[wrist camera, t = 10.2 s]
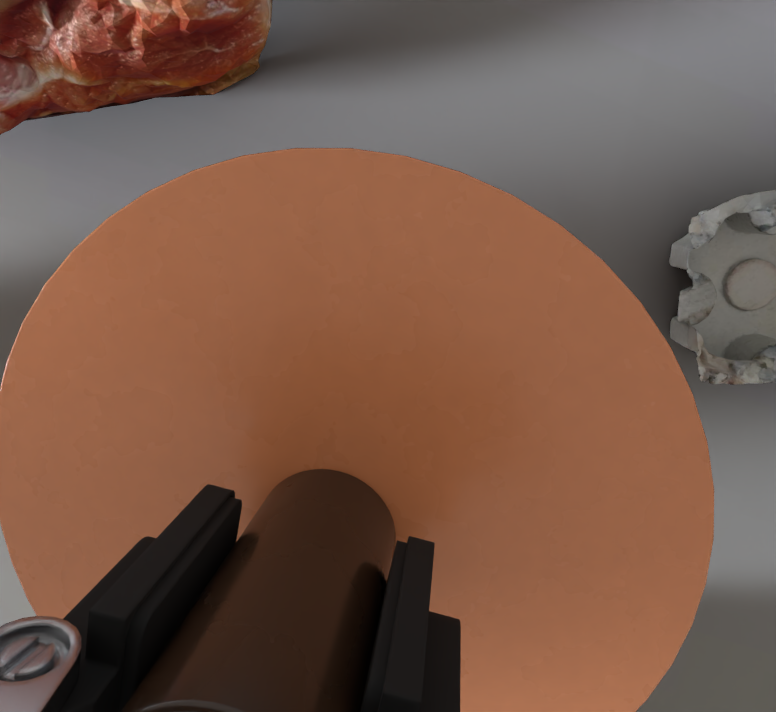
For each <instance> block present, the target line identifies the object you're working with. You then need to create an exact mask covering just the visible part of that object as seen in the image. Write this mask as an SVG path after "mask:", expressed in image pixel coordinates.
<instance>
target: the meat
mask: <svg viewBox="0 0 776 712" xmlns="http://www.w3.org/2000/svg"><path fill="white" fill-rule="evenodd" d="M271 14H272V0H0V134H2V133H4V132H6V131H9V130H11V129H12V128H14V127H15V126H16V125H18V124H19V123H21V122H22V121H25V120H32V119H39V118H46V117H53V116H59V115H65V114H71V113H79V112H85V111H86V112H90V111H92V110H93V109H98V108H103V107H109V106H116V105H123V104H130V103H135V102H139V101H143V100H147V99H152V98H158V97H181V96H194V95H214V94H215V93H217V92H219V91H221V90H223V89H225V88H227V87H229V86H231V85H233V84H234V83H236V82H238V81H240V80H242V79H244V78H246V77H248V76H250V75H252V74H253V73H254V72H255V71H256V70H257V69H258V68H259V67H260V66H259V62H258V61H259V57H260V53H261V52H262V50H263V48H264V47H265V44H266V40H267V36H268V32H269V29H270V26H271Z"/></svg>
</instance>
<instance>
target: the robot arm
mask: <svg viewBox="0 0 776 712" xmlns="http://www.w3.org/2000/svg"><path fill="white" fill-rule="evenodd" d="M241 509H242V500H240V499H236V498H235V492H234V490H230V489H226V488H222V487H219V486H215V485H211V484H207V485H206V486H205V487H204V488H203V489H202V490H201V491H200V492H199V493H198V494H197V495H196V496H195V497H194V498H193V500H192V501H191V502H190V503H189V504H188V505H187V506H186V507H185V508H184V509H183V510H182V511H181V512H180V513H179V515H178V516H177V517H176V518H175V519H174V520H173V521H172V522H171V523H170V524H169V525H168V526H167V527H166V528H165V530H164V531H163V532H162V533H161V534H160V535H159V536H158V537H157V538H154V537H150V536H147V537H144V538H142V539H141V540H140V541H139V542H138V543H137V544H136V545H135V546H134V547H133V548H132V549H131V550H130V551H129V552H128V553H127V554H126V555H125V556H124V557H123V558H122V559H121V560H120V561H119V562H118V563H117V564H116V565H115V566H114V567H113V568H112V569H111V570H110V571H109V572H108V573H107V574H106V575H105V576H104V577H103V578H102V579H101V580H100V581H99V582H98V584H97V585H96V586H95V587H94V588H93V589H92V590H91V591H90V592H89V593H88V594H87V595H86V596H85V597H84V598H83V599H82V600H81V601H80V602H79V603H78V604H77V605H76V606H75V607H74V608H73V609H72V610H71V611H70V612H69V613H68V614H67V615H66V616H65V617H64V618H63V619H60V618H57V617H50V616H35V617H27V618H22V619H19V620H15V621H12V622H9V623H6V624H4V625H2V626H1V627H0V712H121V711H122V709H123V708H124V706H125V705H126V703H127V702H128V700H129V699H130V697H131V696H132V694H133V693H134V692H135V690H136V689H137V687H138V686H139V684H140V683H141V681H142V680H143V678H144V677H145V675H146V674H147V672H148V671H149V670H150V668H151V667H152V665H153V664H154V662H155V661H156V659H157V658H158V656H159V655H160V653H161V652H162V650H163V649H164V648H165V646H166V645H167V643H168V642H169V640H170V639H171V637H172V636H173V634H174V633H175V631H176V630H177V628H178V627H179V626H180V624H181V623H182V621H183V620H184V618H185V617H186V615H187V614H188V612H189V611H190V609H191V608H192V606H193V605H194V604H195V602H196V601H197V599H198V598H199V596H200V595H201V593H202V592H203V590H204V589H205V587H206V586H207V584H208V583H209V582H210V580H211V579H212V577H213V576H214V574H215V573H216V571H217V570H218V568H219V567H220V565H221V564H222V562H223V561H224V559H225V558H226V557H227V555H228V554H229V552H230V551H231V549H232V548H233V546H234V545H235V543H236V540H237V534H238V528H239V521H240V515H241ZM434 547H435V543H434V542H431V541H427V540H423V539H419V538H415V537H412V536H409V537H408V540H407V543H406V542H402V541H398V540H397V542H396V546H395V550H394V554H393V558H392V563H391V567H390V571H389V575H388V579H387V583H386V588H385V593H384V598H383V602H382V607H381V612H380V617H379V622H378V627H377V632H376V637H375V641H374V646H373V651H372V656H371V661H370V666H369V671H368V676H367V680H366V685H365V690H364V695H363V700H362V705H361V710H360V712H460V673H461V624H460V620H459V619H457V618H453V617H449V616H445V615H442V614H438V613H434V612H431V611H429V606H430V594H431V582H432V571H433V559H434Z"/></svg>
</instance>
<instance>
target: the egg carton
mask: <svg viewBox="0 0 776 712" xmlns="http://www.w3.org/2000/svg"><path fill="white" fill-rule="evenodd" d="M669 263H670V265H671V266H673V267H678V268H681V269H685V270H687V273H688V276H689V277H690V278H691V279H692V281H693V284H692V286H691V287H689V288H686V289H684V290H682V291H680V296H679V305H678V316H676V317H673V318H672V320H671V323H670V324H671V328H670V336H671V339H673V340H674V341H676V342H677V343H679V344H681V345H682V346H684V347H686V348H688V349H690V350H691V351H695V352H696V354H697V358H696V360H697V363H698V369H699V378H700V380H701V381H702V382H706V381H707V380H709V383H711V384H725V383H726V384H732V385H736V384H747V383H758V384H762V383H772V382H776V190H771V191H764V192H757V193H752V194H747V195H742V196H739V197H737V198H734V199H731V200H729V201H727V202H725V203H723V204H721V205H719V206H717V207H715V208H713V209H710V210H704V211H701V212H699V214H698V216H695V217H693V218H692V219H691V221H690V223H689V233H688V234H687V235H685V236H684V237H683V238H681V239H680V240H678V241H676V242H674V243H673V245H672V247H671V255H670V259H669Z"/></svg>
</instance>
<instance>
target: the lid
mask: <svg viewBox="0 0 776 712" xmlns="http://www.w3.org/2000/svg"><path fill="white" fill-rule="evenodd" d="M207 484H211V485H215V486H219V487H222V488H226V489H230V490H234V492H235V498H236V499H240V500H242V509H241V515H240V521H239V528H238V534H237V540H236V543H235V545H234V546H233V548H232V549H231V551H230V552H229V554H228V555H227V557H226V558H225V559H224V561H223V562H222V564H221V565H220V567H219V568H218V570H217V571H216V573H215V574H214V576H213V577H212V579H211V580H210V582H209V583H208V584H207V586H206V587H205V589H204V590H203V592H202V593H201V595H200V596H199V598H198V599H197V601H196V602H195V604H194V605H193V606H192V608H191V609H190V611H189V612H188V614H187V615H186V617H185V618H184V620H183V621H182V623H181V624H180V626H179V627H178V628H177V630H176V631H175V633H174V634H173V636H172V637H171V639H170V640H169V642H168V643H167V645H166V646H165V648H164V649H163V650H162V652H161V653H160V655H159V656H158V658H157V659H156V661H155V662H154V664H153V665H152V667H151V668H150V670H149V671H148V672H147V674H146V675H145V677H144V678H143V680H142V681H141V683H140V684H139V686H138V687H137V689H136V690H135V692H134V693H133V694H132V696H131V697H130V699H129V700H128V702H127V703H126V705H125V706H124V708H123V709H122V711H121V712H360V710H361V705H362V700H363V695H364V690H365V685H366V680H367V676H368V671H369V666H370V661H371V656H372V651H373V646H374V641H375V637H376V632H377V627H378V622H379V617H380V612H381V607H382V602H383V598H384V593H385V588H386V583H387V579H388V575H389V571H390V567H391V563H392V558H393V554H394V550H395V546H396V542H397V540H398V541H402V542H406V543H407V540H408V537H409V536H412V537H415V538H419V539H423V540H427V541H431V542H434V543H435V547H434V559H433V571H432V582H431V594H430V606H429V611H431V612H434V613H438V614H442V615H445V616H449V617H453V618H457V619H459V620H460V624H461V673H460V712H636V711H637V710H638V709H639V707H640V706H641V705H642V704H643V703H644V702H645V701H646V700H647V699H648V698H649V696H650V695H651V693H652V692H653V691H654V689H655V688H656V686H657V685H658V684H659V682H660V681H661V679H662V678H663V677H664V675H665V674H666V672H667V671H668V670H669V668H670V667H671V665H672V664H673V662H674V660H675V658H676V656H677V654H678V652H679V650H680V648H681V646H682V644H683V642H684V640H685V638H686V636H687V634H688V632H689V630H690V628H691V626H692V624H693V621H694V618H695V615H696V612H697V609H698V606H699V603H700V600H701V597H702V594H703V591H704V588H705V585H706V580H707V574H708V568H709V562H710V556H711V550H712V544H713V537H714V486H713V479H712V472H711V465H710V458H709V451H708V444H707V439H706V436H705V433H704V429H703V426H702V423H701V420H700V416H699V413H698V410H697V406H696V403H695V400H694V396H693V393H692V391H691V389H690V387H689V385H688V383H687V381H686V378H685V376H684V374H683V372H682V370H681V368H680V366H679V364H678V362H677V359H676V357H675V355H674V353H673V351H672V349H671V347H670V345H669V344H668V342H667V341H666V339H665V338H664V336H663V335H662V333H661V332H660V330H659V329H658V327H657V326H656V324H655V323H654V321H653V320H652V318H651V317H650V315H649V314H648V312H647V311H646V309H645V308H644V306H643V305H642V303H641V302H640V301H639V300H638V299H637V297H636V296H635V295H634V294H633V293H632V292H631V291H630V290H629V289H628V287H627V286H626V285H625V284H624V283H623V282H622V281H621V280H620V279H619V277H618V276H617V275H616V274H615V273H614V272H613V271H612V270H611V269H610V267H609V266H608V265H607V264H606V263H605V262H604V261H603V260H602V259H601V258H600V257H598V256H597V255H596V254H595V253H594V252H592V251H591V250H590V249H589V248H588V247H586V246H585V245H584V244H583V243H582V242H580V241H579V240H578V239H577V238H576V237H574V236H573V235H572V234H571V233H570V232H568V231H567V230H566V229H565V228H564V227H562V226H561V225H560V224H558V223H557V222H555V221H554V220H552V219H550V218H549V217H547V216H545V215H544V214H542V213H541V212H539V211H537V210H536V209H534V208H533V207H531V206H529V205H528V204H526V203H525V202H523V201H521V200H520V199H518V198H517V197H515V196H513V195H512V194H509V193H507V192H505V191H503V190H500V189H498V188H496V187H494V186H491V185H489V184H487V183H485V182H482V181H480V180H478V179H476V178H473V177H471V176H469V175H467V174H464V173H462V172H460V171H456V170H453V169H449V168H446V167H442V166H439V165H435V164H432V163H428V162H425V161H421V160H418V159H415V158H411V157H408V156H402V155H395V154H388V153H381V152H374V151H367V150H360V149H353V148H293V149H286V150H279V151H272V152H265V153H258V154H251V155H244V156H240V157H237V158H233V159H230V160H226V161H223V162H220V163H216V164H213V165H209V166H206V167H203V168H199V169H196V170H193V171H191V172H189V173H186V174H184V175H182V176H180V177H178V178H176V179H174V180H171V181H169V182H167V183H165V184H163V185H161V186H158V187H156V188H154V189H152V190H150V191H148V192H146V193H145V194H143V195H142V196H140V197H139V198H137V199H136V200H134V201H133V202H131V203H130V204H128V205H127V206H125V207H124V208H122V209H121V210H119V211H118V212H116V213H115V214H113V215H112V216H110V217H109V218H107V219H106V220H105V221H104V222H103V223H102V224H101V225H100V226H99V227H97V228H96V229H95V230H94V231H93V232H92V233H91V234H90V235H89V236H88V237H86V238H85V239H84V240H83V241H82V242H81V243H80V244H79V245H78V246H76V247H75V248H74V249H73V250H72V252H71V253H70V254H69V255H68V257H67V258H66V259H65V260H64V261H63V263H62V264H61V265H60V266H59V268H58V269H57V270H56V271H55V273H54V274H53V275H52V276H51V277H50V279H49V280H48V281H47V282H46V284H45V285H44V287H43V288H42V290H41V292H40V293H39V295H38V297H37V298H36V300H35V302H34V304H33V305H32V307H31V309H30V310H29V312H28V314H27V315H26V317H25V319H24V320H23V322H22V325H21V327H20V330H19V332H18V335H17V337H16V340H15V342H14V344H13V347H12V349H11V352H10V354H9V357H8V359H7V362H6V366H5V370H4V374H3V378H2V382H1V386H0V524H1V527H2V531H3V534H4V538H5V541H6V544H7V548H8V551H9V554H10V558H11V561H12V564H13V566H14V569H15V571H16V573H17V576H18V578H19V580H20V583H21V585H22V587H23V590H24V592H25V594H26V596H27V599H28V601H29V603H30V604H31V606H32V608H33V610H34V611H35V613H36V615H37V616H50V617H57V618H60V619H63V618H64V617H65V616H66V615H67V614H68V613H69V612H70V611H71V610H72V609H73V608H74V607H75V606H76V605H77V604H78V603H79V602H80V601H81V600H82V599H83V598H84V597H85V596H86V595H87V594H88V593H89V592H90V591H91V590H92V589H93V588H94V587H95V586H96V585H97V584H98V582H99V581H100V580H101V579H102V578H103V577H104V576H105V575H106V574H107V573H108V572H109V571H110V570H111V569H112V568H113V567H114V566H115V565H116V564H117V563H118V562H119V561H120V560H121V559H122V558H123V557H124V556H125V555H126V554H127V553H128V552H129V551H130V550H131V549H132V548H133V547H134V546H135V545H136V544H137V543H138V542H139V541H140V540H141V539H142V538H144V537H147V536H150V537H154V538H157V537H158V536H159V535H160V534H161V533H162V532H163V531H164V530H165V528H166V527H167V526H168V525H169V524H170V523H171V522H172V521H173V520H174V519H175V518H176V517H177V516H178V515H179V513H180V512H181V511H182V510H183V509H184V508H185V507H186V506H187V505H188V504H189V503H190V502H191V501H192V500H193V498H194V497H195V496H196V495H197V494H198V493H199V492H200V491H201V490H202V489H203V488H204V487H205V486H206V485H207Z"/></svg>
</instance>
